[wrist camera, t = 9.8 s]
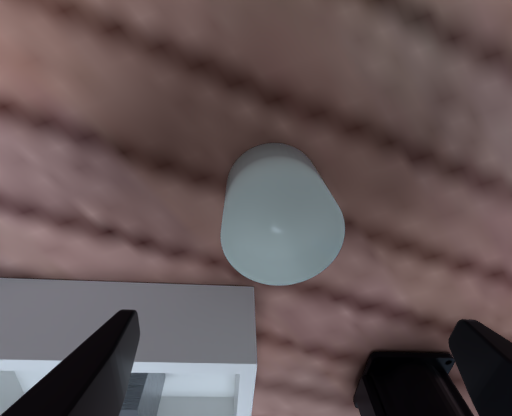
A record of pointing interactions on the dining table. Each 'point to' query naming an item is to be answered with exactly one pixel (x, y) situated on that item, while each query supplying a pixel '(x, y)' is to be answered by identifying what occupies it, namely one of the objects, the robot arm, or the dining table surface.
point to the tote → (150, 343)
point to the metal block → (143, 394)
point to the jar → (279, 217)
